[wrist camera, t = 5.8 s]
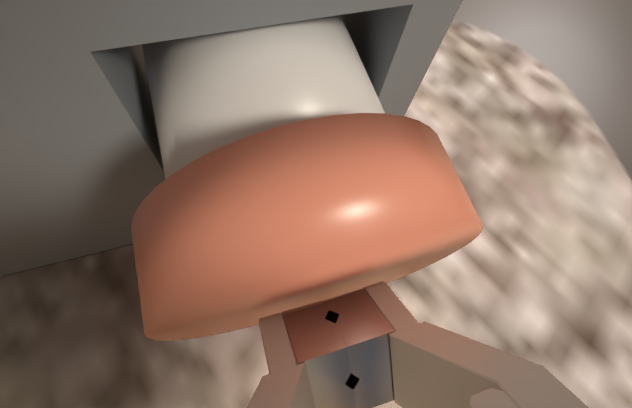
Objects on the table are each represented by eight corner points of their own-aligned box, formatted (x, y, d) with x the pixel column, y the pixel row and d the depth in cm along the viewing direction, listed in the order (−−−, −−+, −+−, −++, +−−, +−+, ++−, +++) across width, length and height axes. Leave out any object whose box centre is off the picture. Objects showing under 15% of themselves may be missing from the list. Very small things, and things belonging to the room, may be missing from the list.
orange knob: (192, 346, 11) (53, 322, 4) (154, 124, 14) (35, -99, 7) (413, 278, 12) (570, 180, 6) (337, 89, 15) (382, -123, 8)
